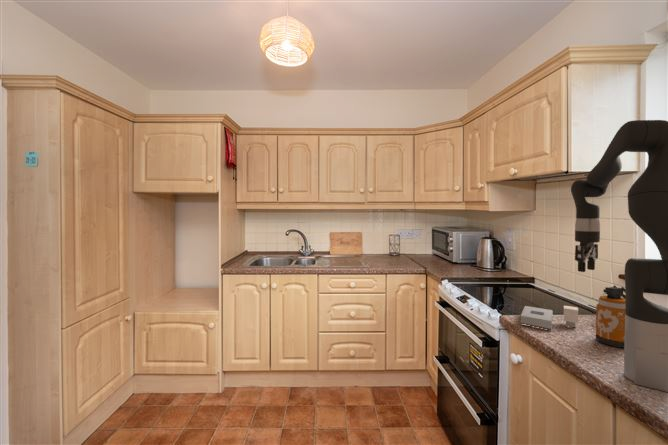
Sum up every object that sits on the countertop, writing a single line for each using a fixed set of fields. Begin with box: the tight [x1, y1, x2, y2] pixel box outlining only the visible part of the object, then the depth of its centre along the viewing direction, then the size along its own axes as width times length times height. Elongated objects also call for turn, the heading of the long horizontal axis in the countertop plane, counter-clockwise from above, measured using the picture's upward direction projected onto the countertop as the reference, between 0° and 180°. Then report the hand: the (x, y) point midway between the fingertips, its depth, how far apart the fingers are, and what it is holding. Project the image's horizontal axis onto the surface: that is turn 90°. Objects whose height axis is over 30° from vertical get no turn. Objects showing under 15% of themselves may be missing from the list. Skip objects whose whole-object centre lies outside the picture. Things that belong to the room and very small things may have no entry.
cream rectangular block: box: [563, 305, 579, 328], centre depth 119 cm, size 4×4×8 cm
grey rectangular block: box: [520, 305, 554, 331], centre depth 124 cm, size 16×10×4 cm, turn 142°
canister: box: [595, 285, 626, 348], centre depth 104 cm, size 9×11×20 cm
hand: (586, 270), depth 118 cm, fingers open, 8 cm apart
